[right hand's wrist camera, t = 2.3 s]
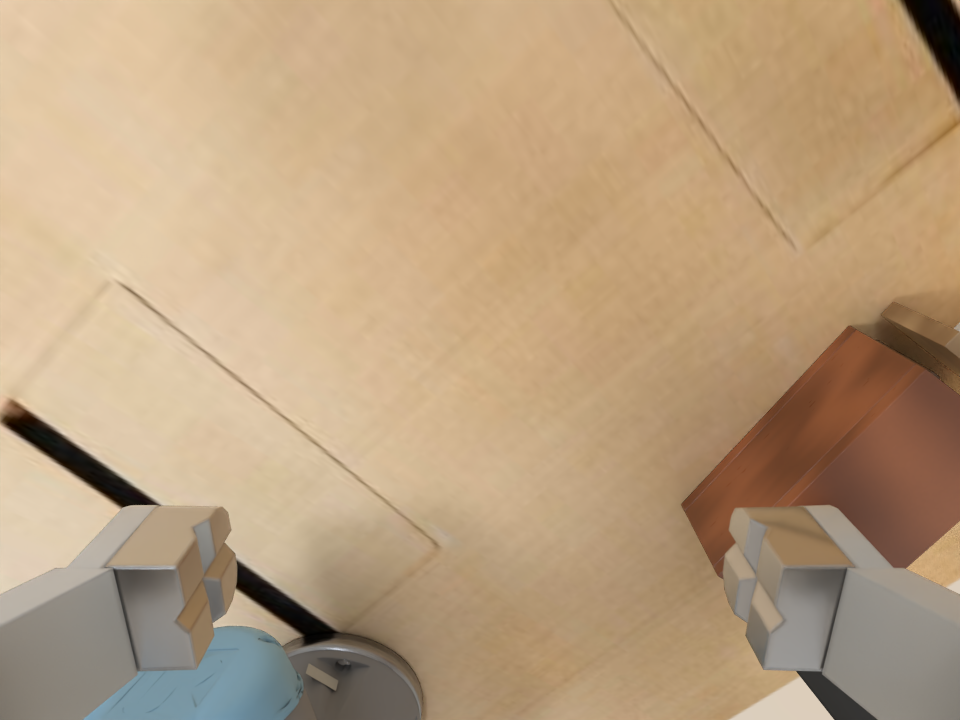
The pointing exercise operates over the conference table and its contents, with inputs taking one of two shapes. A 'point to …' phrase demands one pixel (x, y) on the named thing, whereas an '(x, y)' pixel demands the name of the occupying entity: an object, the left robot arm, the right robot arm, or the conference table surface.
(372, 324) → the conference table surface
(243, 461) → the conference table surface
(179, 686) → the left robot arm
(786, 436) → the cabinet
